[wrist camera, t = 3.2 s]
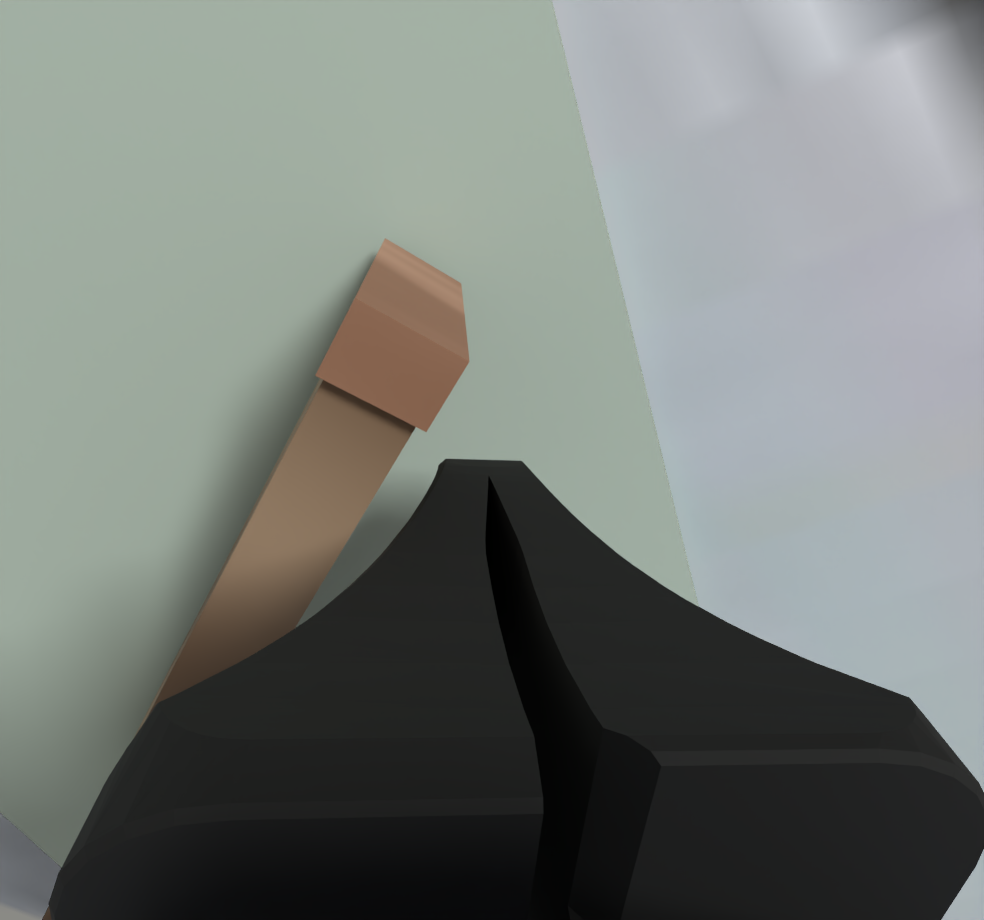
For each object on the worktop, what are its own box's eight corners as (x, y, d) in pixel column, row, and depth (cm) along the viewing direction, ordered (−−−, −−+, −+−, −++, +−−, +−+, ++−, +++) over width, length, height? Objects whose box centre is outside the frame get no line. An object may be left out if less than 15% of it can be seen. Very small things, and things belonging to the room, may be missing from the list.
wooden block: (176, 777, 16) (99, 966, 12) (117, 759, 15) (19, 950, 12) (461, 283, 11) (469, 361, 7) (385, 238, 10) (355, 297, 7)
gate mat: (712, 680, 17) (721, 698, 16) (88, 860, 19) (77, 882, 18) (398, -595, 7) (395, -650, 7) (-824, 7, 9) (-903, 1, 9)
